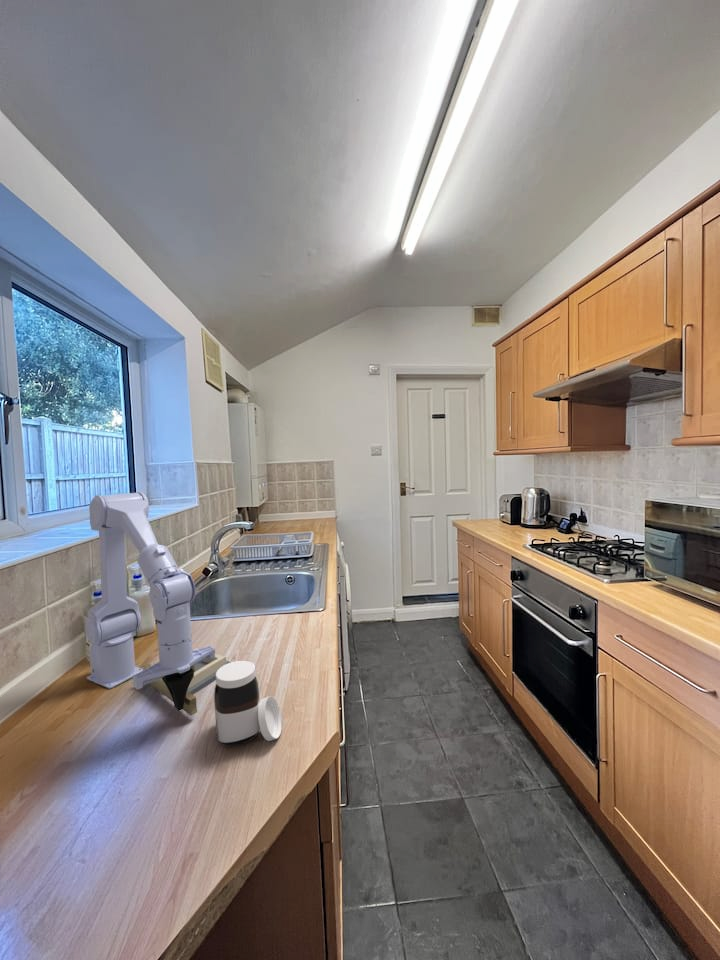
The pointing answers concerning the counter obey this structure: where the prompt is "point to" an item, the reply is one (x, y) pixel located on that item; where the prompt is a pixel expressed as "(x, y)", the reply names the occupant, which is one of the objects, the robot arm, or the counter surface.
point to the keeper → (161, 687)
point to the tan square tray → (206, 672)
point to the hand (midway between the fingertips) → (178, 707)
